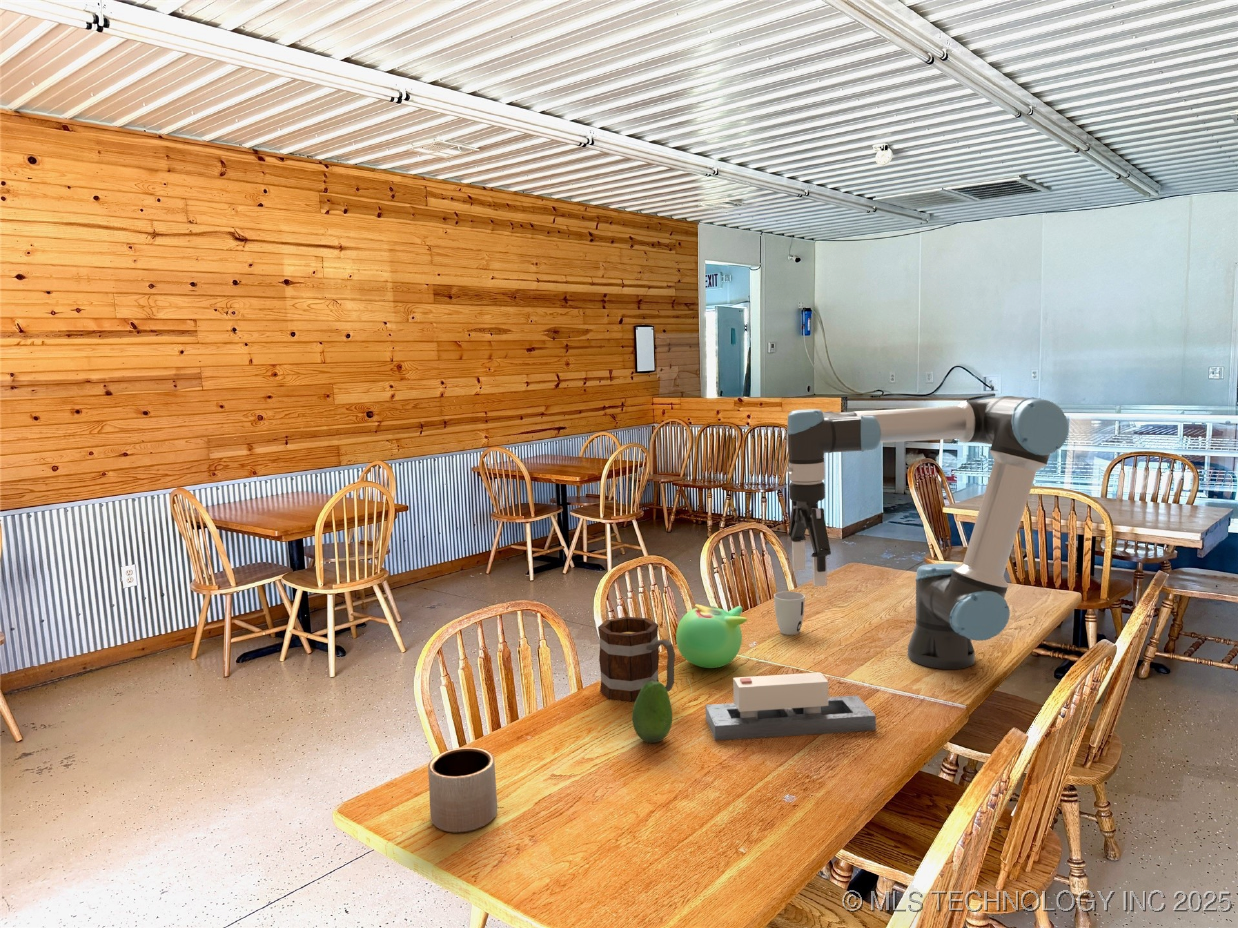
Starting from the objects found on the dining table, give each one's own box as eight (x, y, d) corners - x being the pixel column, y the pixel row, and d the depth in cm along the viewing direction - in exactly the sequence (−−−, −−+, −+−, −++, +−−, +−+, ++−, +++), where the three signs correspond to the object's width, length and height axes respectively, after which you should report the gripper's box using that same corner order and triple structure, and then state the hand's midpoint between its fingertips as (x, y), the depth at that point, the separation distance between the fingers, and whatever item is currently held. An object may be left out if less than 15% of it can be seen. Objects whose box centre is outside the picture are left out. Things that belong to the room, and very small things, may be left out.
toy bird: (675, 651, 211) (674, 595, 209) (742, 650, 210) (741, 594, 208) (678, 678, 193) (676, 617, 191) (751, 677, 192) (750, 616, 191)
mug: (587, 691, 187) (585, 627, 185) (627, 674, 197) (626, 612, 195) (654, 715, 174) (652, 646, 172) (693, 695, 184) (692, 629, 182)
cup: (805, 637, 218) (805, 600, 217) (773, 636, 220) (773, 599, 219) (804, 627, 226) (804, 591, 225) (774, 626, 228) (774, 590, 227)
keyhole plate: (857, 708, 174) (857, 695, 173) (875, 730, 164) (875, 715, 164) (705, 718, 171) (705, 704, 171) (715, 740, 161) (714, 725, 161)
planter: (435, 801, 142) (432, 748, 141) (499, 797, 143) (496, 744, 142) (426, 837, 131) (422, 780, 130) (495, 832, 132) (492, 775, 131)
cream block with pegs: (820, 716, 171) (820, 669, 169) (828, 727, 166) (828, 679, 164) (733, 722, 169) (733, 675, 168) (739, 733, 164) (738, 684, 163)
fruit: (625, 735, 165) (623, 677, 163) (661, 727, 168) (660, 670, 166) (642, 752, 157) (641, 692, 156) (680, 744, 160) (678, 684, 159)
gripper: (772, 475, 191) (775, 565, 194) (809, 491, 166) (812, 594, 169) (804, 472, 192) (806, 562, 195) (845, 489, 167) (847, 591, 170)
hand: (809, 577), depth 182 cm, fingers open, 13 cm apart
